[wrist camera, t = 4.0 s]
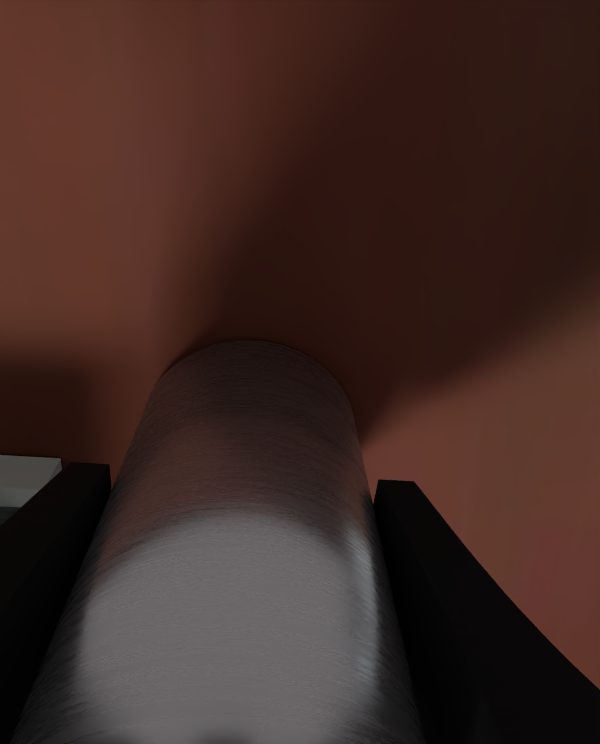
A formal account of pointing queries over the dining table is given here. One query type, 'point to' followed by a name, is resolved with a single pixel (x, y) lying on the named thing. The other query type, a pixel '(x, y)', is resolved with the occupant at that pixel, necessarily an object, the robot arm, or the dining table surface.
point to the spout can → (232, 575)
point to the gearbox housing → (23, 480)
